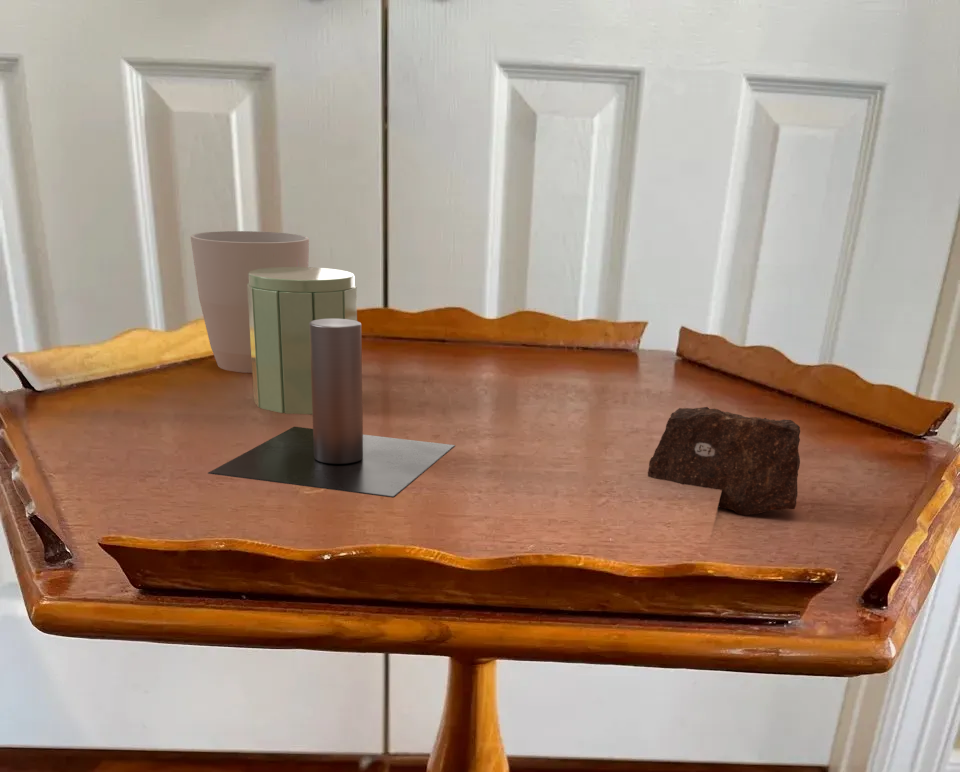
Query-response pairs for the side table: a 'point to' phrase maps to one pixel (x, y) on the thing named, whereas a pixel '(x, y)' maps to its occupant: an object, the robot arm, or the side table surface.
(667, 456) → the stone
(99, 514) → the side table surface
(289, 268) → the tumbler
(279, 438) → the holder
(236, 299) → the cup
